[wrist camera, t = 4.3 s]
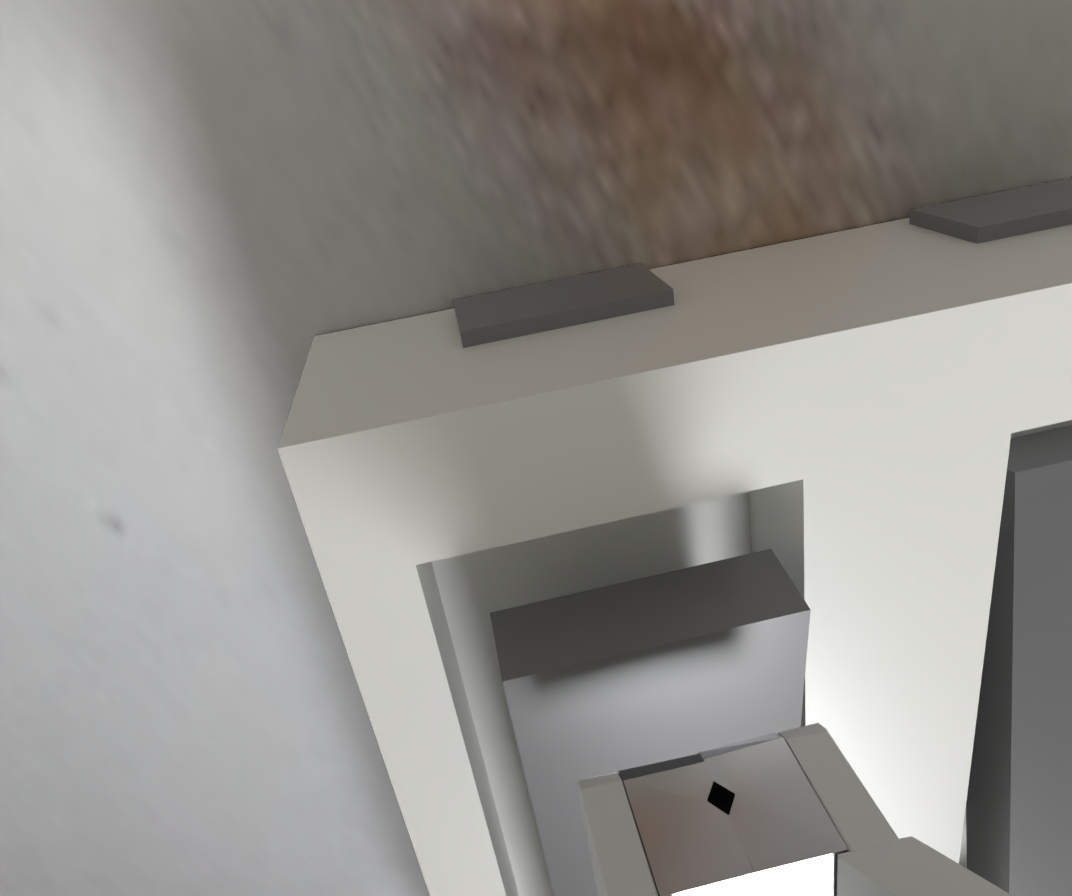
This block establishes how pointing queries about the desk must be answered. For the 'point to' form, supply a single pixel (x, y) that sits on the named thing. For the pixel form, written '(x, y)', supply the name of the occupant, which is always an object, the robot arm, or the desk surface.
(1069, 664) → the middle rocker
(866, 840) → the robot arm
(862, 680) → the switch strip
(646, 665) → the rocker
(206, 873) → the desk surface
